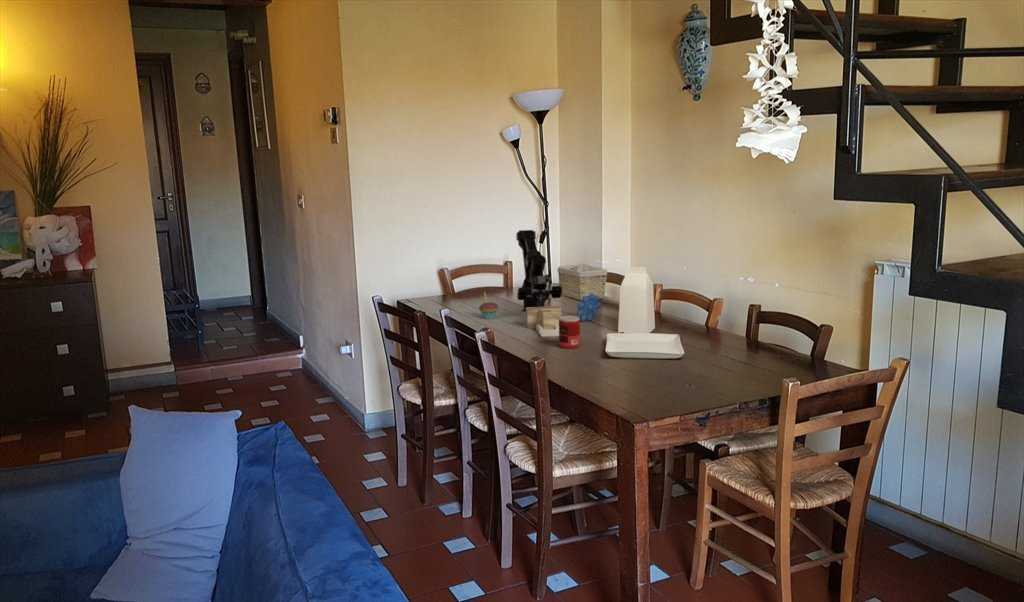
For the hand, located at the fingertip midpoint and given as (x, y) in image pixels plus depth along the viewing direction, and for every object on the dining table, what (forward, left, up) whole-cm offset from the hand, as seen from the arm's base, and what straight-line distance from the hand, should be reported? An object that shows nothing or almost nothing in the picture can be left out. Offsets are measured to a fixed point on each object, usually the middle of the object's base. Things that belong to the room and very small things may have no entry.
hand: (542, 309), depth 319 cm
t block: (+5, -5, -7) cm, 10 cm away
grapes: (+12, +17, -7) cm, 22 cm away
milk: (+38, +12, -7) cm, 40 cm away
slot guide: (+10, -10, -7) cm, 16 cm away
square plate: (+55, -15, -7) cm, 57 cm away
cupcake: (-28, -1, -7) cm, 29 cm away
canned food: (+29, -24, -7) cm, 38 cm away
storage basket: (-20, +63, -7) cm, 66 cm away
